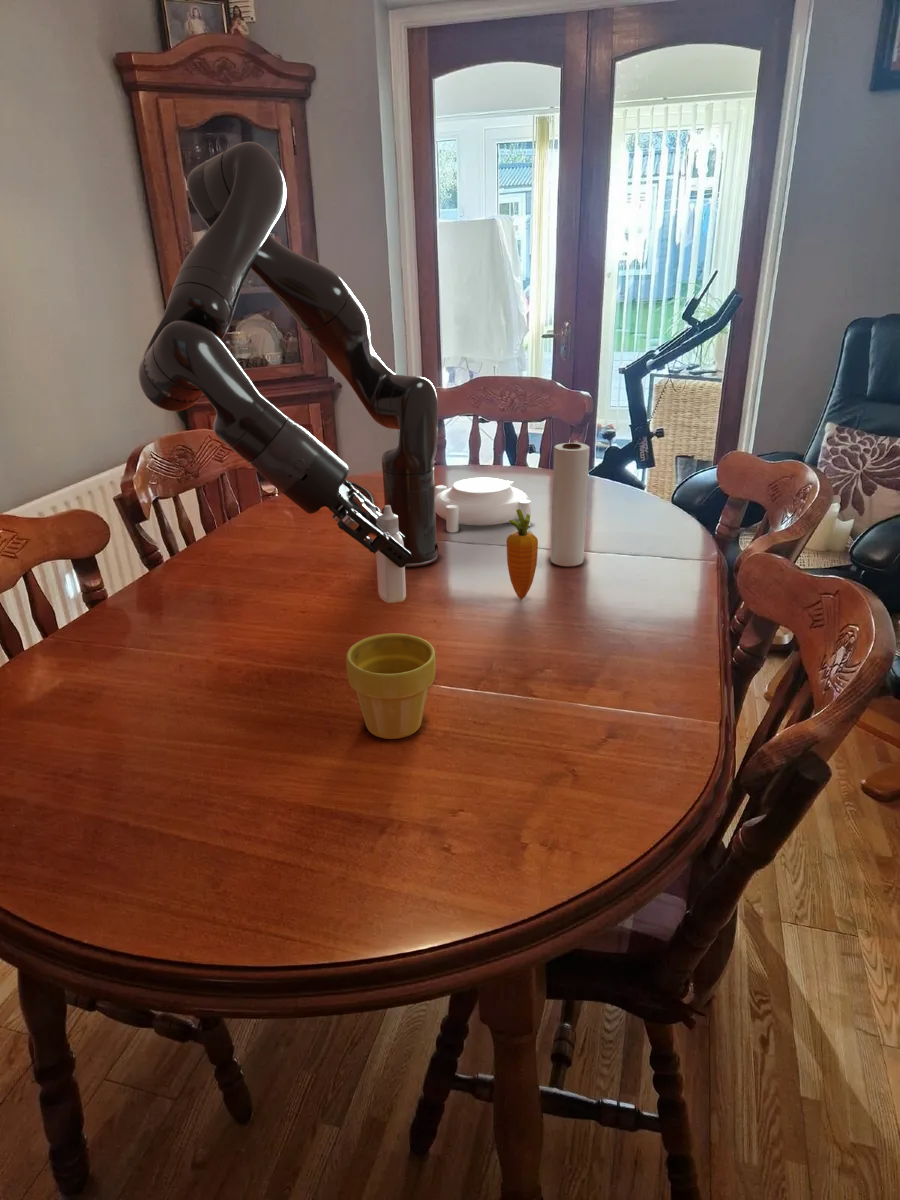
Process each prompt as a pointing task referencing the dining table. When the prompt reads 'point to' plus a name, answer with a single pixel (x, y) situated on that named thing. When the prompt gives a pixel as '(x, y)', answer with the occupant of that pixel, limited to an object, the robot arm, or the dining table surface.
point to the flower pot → (391, 681)
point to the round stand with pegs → (480, 502)
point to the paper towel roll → (569, 503)
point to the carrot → (521, 555)
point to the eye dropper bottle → (390, 563)
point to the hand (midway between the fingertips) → (403, 552)
